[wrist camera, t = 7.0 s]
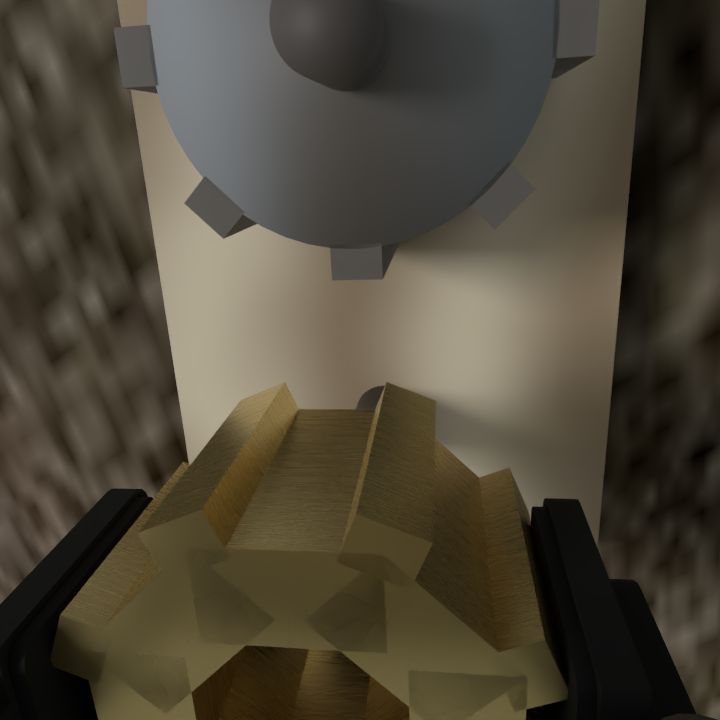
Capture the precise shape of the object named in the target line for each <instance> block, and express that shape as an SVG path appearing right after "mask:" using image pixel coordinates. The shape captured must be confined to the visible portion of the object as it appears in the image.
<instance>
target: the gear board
mask: <svg viewBox="0 0 720 720" xmlns="http://www.w3.org/2000/svg"><path fill="white" fill-rule="evenodd" d="M117 3H118V10H119V16H120V22H121V27H116V28H114V35H115V41H116V47H117V53H118V60H119V66H120V72H121V79H122V85H123V88H126V89H131V93H132V100H133V106H134V112H135V119H136V125H137V132H138V138H139V145H140V151H141V157H142V164H143V170H144V177H145V183H146V190H147V196H148V202H149V209H150V215H151V222H152V228H153V235H154V241H155V247H156V254H157V260H158V267H159V273H160V280H161V286H162V292H163V299H164V305H165V312H166V318H167V324H168V331H169V337H170V344H171V350H172V357H173V363H174V369H175V376H176V382H177V389H178V395H179V402H180V408H181V414H182V421H183V427H184V434H185V440H186V447H187V453H188V459H189V464H190V465H191V464H192V462H193V461H194V460H195V458H196V457H197V456H198V455H199V453H200V452H201V451H202V449H203V448H204V447H205V446H206V444H207V443H208V442H209V440H210V439H211V438H212V436H213V435H214V434H215V433H216V431H217V430H218V429H219V427H220V426H221V425H222V424H223V422H224V421H225V420H226V418H227V417H228V416H229V415H230V413H231V412H232V411H233V409H234V408H235V407H236V406H237V404H238V403H239V402H240V400H242V399H245V398H247V397H249V396H252V395H254V394H257V393H259V392H261V391H264V390H266V389H269V388H271V387H274V386H276V385H278V384H281V383H283V382H285V383H286V385H287V387H288V389H289V391H290V393H291V395H292V396H293V398H294V400H295V402H296V404H297V406H298V408H299V409H376V406H377V404H378V402H379V399H380V397H381V394H382V392H383V389H384V387H385V384H386V382H389V383H391V384H394V385H396V386H399V387H402V388H404V389H407V390H410V391H412V392H415V393H417V394H420V395H423V396H425V397H428V398H431V399H433V400H436V425H435V438H436V439H437V440H438V441H439V442H440V443H441V444H442V445H443V446H445V447H446V448H447V449H448V450H449V451H450V452H451V453H452V454H453V455H455V456H456V457H457V458H458V459H459V460H460V461H461V462H462V463H463V464H465V465H466V466H467V467H468V468H469V469H470V470H471V471H472V472H473V473H475V474H476V475H477V476H478V477H482V476H485V475H488V474H491V473H494V472H497V471H500V470H503V469H506V468H510V470H511V472H512V475H513V477H514V479H515V481H516V484H517V486H518V488H519V490H520V493H521V495H522V497H523V499H524V502H525V504H526V506H527V509H528V512H529V516H530V521H531V510H532V507H533V506H537V507H543V501H544V499H545V498H558V499H578V500H579V501H580V504H581V506H582V509H583V511H584V514H585V517H586V519H587V522H588V525H589V527H590V530H591V532H592V535H593V538H594V540H595V543H596V545H597V548H598V537H599V526H600V515H601V503H602V492H603V481H604V469H605V458H606V447H607V436H608V424H609V413H610V402H611V391H612V379H613V368H614V357H615V345H616V334H617V323H618V312H619V300H620V289H621V278H622V267H623V255H624V244H625V233H626V222H627V210H628V199H629V188H630V176H631V165H632V154H633V143H634V131H635V120H636V109H637V98H638V86H639V75H640V64H641V52H642V41H643V30H644V19H645V7H646V0H117Z"/></svg>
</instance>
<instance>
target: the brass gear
mask: <svg viewBox="0 0 720 720" xmlns="http://www.w3.org/2000/svg"><path fill="white" fill-rule="evenodd" d="M435 425H436V400H433V399H431V398H428V397H425V396H423V395H420V394H417V393H415V392H412V391H410V390H407V389H404V388H402V387H399V386H396V385H394V384H391V383H389V382H386V384H385V387H384V389H383V392H382V394H381V397H380V399H379V402H378V404H377V406H376V409H299V408H298V406H297V404H296V402H295V400H294V398H293V396H292V395H291V393H290V391H289V389H288V387H287V385H286V383H285V382H283V383H281V384H278V385H276V386H274V387H271V388H269V389H266V390H264V391H261V392H259V393H257V394H254V395H252V396H249V397H247V398H245V399H242V400H240V402H239V403H238V404H237V406H236V407H235V408H234V409H233V411H232V412H231V413H230V415H229V416H228V417H227V418H226V420H225V421H224V422H223V424H222V425H221V426H220V427H219V429H218V430H217V431H216V433H215V434H214V435H213V436H212V438H211V439H210V440H209V442H208V443H207V444H206V446H205V447H204V448H203V449H202V451H201V452H200V453H199V455H198V456H197V457H196V458H195V460H194V461H193V462H192V464H191V465H190V464H187V463H185V462H183V463H182V464H181V465H180V467H179V468H178V469H177V470H176V472H175V473H174V474H173V475H172V477H171V478H170V479H169V480H168V482H167V483H166V484H165V485H164V487H163V488H162V489H161V490H160V492H159V493H158V494H157V495H156V497H155V498H154V499H153V500H152V501H151V503H150V504H149V505H148V506H147V508H146V509H145V510H144V511H143V513H142V514H141V515H140V516H139V518H138V519H137V520H136V521H135V523H134V524H133V525H132V526H131V528H130V529H129V530H128V531H127V533H126V534H125V535H124V536H123V538H122V539H121V540H120V541H119V542H118V544H117V545H116V546H115V547H114V549H113V550H112V551H111V552H110V554H109V555H108V556H107V557H106V559H105V560H104V561H103V562H102V564H101V565H100V566H99V567H98V569H97V570H96V571H95V572H94V574H93V575H92V576H91V577H90V579H89V580H88V581H87V582H86V583H85V585H84V586H83V587H82V588H81V590H80V591H79V592H78V593H77V595H76V596H75V597H74V598H73V600H72V601H71V602H70V603H69V605H68V606H67V607H66V608H65V610H64V611H63V612H62V613H61V615H60V618H59V622H58V627H57V631H56V636H55V640H54V644H53V649H52V653H51V658H50V659H51V662H52V666H53V667H55V668H58V669H60V670H63V671H66V672H68V673H71V674H74V675H76V676H79V677H82V678H84V679H87V680H89V684H90V688H91V692H92V696H93V701H94V705H95V709H96V713H97V717H98V720H544V715H543V709H542V705H546V704H550V703H555V702H559V701H563V700H567V699H568V687H567V683H566V678H565V674H564V670H563V665H562V661H561V657H560V652H559V648H558V643H557V639H556V635H555V630H554V626H553V622H552V617H551V613H550V609H549V604H548V600H547V596H546V591H545V587H544V583H543V578H542V574H541V570H540V565H539V561H538V557H537V552H536V548H535V544H534V539H533V535H532V531H531V521H530V516H529V512H528V509H527V506H526V504H525V502H524V499H523V497H522V495H521V493H520V490H519V488H518V486H517V484H516V481H515V479H514V477H513V475H512V472H511V470H510V468H506V469H503V470H500V471H497V472H494V473H491V474H488V475H485V476H482V477H478V476H477V475H476V474H475V473H473V472H472V471H471V470H470V469H469V468H468V467H467V466H466V465H465V464H463V463H462V462H461V461H460V460H459V459H458V458H457V457H456V456H455V455H453V454H452V453H451V452H450V451H449V450H448V449H447V448H446V447H445V446H443V445H442V444H441V443H440V442H439V441H438V440H437V439H436V438H435Z"/></svg>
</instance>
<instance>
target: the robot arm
mask: <svg viewBox="0 0 720 720" xmlns="http://www.w3.org/2000/svg"><path fill="white" fill-rule="evenodd" d="M152 500H153V498H152V497H148V496H147V494H146V492H145V491H144V490H142V489H111V490H109V491H108V492H107V493H106V494H105V495H104V496H103V497H102V498H101V499H100V500H99V501H98V502H97V503H96V504H95V506H94V507H93V508H92V509H91V510H90V511H89V512H88V513H87V514H86V515H85V516H84V517H83V518H82V519H81V520H80V521H79V522H78V523H77V524H76V525H75V527H74V528H73V529H72V530H71V531H70V532H69V533H68V534H67V535H66V536H65V537H64V538H63V539H62V540H61V541H60V542H59V543H58V544H57V545H56V547H55V548H54V549H53V550H52V551H51V552H50V553H49V554H48V555H47V556H46V557H45V558H44V559H43V560H42V561H41V562H40V563H39V564H38V565H37V566H36V568H35V569H34V570H33V571H32V572H31V573H30V574H29V575H28V576H27V577H26V578H25V579H24V580H23V581H22V582H21V583H20V584H19V585H18V586H17V587H16V589H15V590H14V591H13V592H12V593H11V594H10V595H9V596H8V597H7V598H6V599H5V600H4V601H3V602H2V603H1V604H0V720H98V717H97V713H96V709H95V705H94V701H93V696H92V692H91V688H90V684H89V680H87V679H84V678H82V677H79V676H76V675H74V674H71V673H68V672H66V671H63V670H60V669H58V668H55V667H53V666H52V662H51V659H50V658H51V653H52V649H53V644H54V640H55V636H56V631H57V627H58V622H59V618H60V615H61V613H62V612H63V611H64V610H65V608H66V607H67V606H68V605H69V603H70V602H71V601H72V600H73V598H74V597H75V596H76V595H77V593H78V592H79V591H80V590H81V588H82V587H83V586H84V585H85V583H86V582H87V581H88V580H89V579H90V577H91V576H92V575H93V574H94V572H95V571H96V570H97V569H98V567H99V566H100V565H101V564H102V562H103V561H104V560H105V559H106V557H107V556H108V555H109V554H110V552H111V551H112V550H113V549H114V547H115V546H116V545H117V544H118V542H119V541H120V540H121V539H122V538H123V536H124V535H125V534H126V533H127V531H128V530H129V529H130V528H131V526H132V525H133V524H134V523H135V521H136V520H137V519H138V518H139V516H140V515H141V514H142V513H143V511H144V510H145V509H146V508H147V506H148V505H149V504H150V503H151V501H152ZM531 531H532V535H533V539H534V544H535V548H536V552H537V557H538V561H539V565H540V570H541V574H542V578H543V583H544V587H545V591H546V596H547V600H548V604H549V609H550V613H551V617H552V622H553V626H554V630H555V635H556V639H557V643H558V648H559V652H560V657H561V661H562V665H563V670H564V674H565V678H566V683H567V687H568V699H567V700H563V701H559V702H555V703H550V704H546V705H542V709H543V715H544V720H717V719H713V718H710V717H706V716H703V715H699V714H696V712H695V710H694V708H693V706H692V703H691V701H690V699H689V697H688V694H687V692H686V690H685V688H684V685H683V683H682V681H681V679H680V676H679V674H678V672H677V669H676V667H675V665H674V663H673V660H672V658H671V656H670V654H669V651H668V649H667V647H666V645H665V642H664V640H663V638H662V636H661V633H660V631H659V629H658V627H657V624H656V622H655V620H654V618H653V615H652V613H651V611H650V609H649V606H648V604H647V602H646V600H645V597H644V595H643V593H642V591H641V589H640V587H639V585H638V583H637V582H635V581H634V580H623V579H609V577H608V574H607V572H606V569H605V566H604V564H603V561H602V559H601V556H600V553H599V551H598V548H597V545H596V543H595V540H594V538H593V535H592V532H591V530H590V527H589V525H588V522H587V519H586V517H585V514H584V511H583V509H582V506H581V504H580V501H579V500H578V499H558V498H545V499H544V501H543V507H537V506H533V507H532V510H531Z"/></svg>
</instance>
